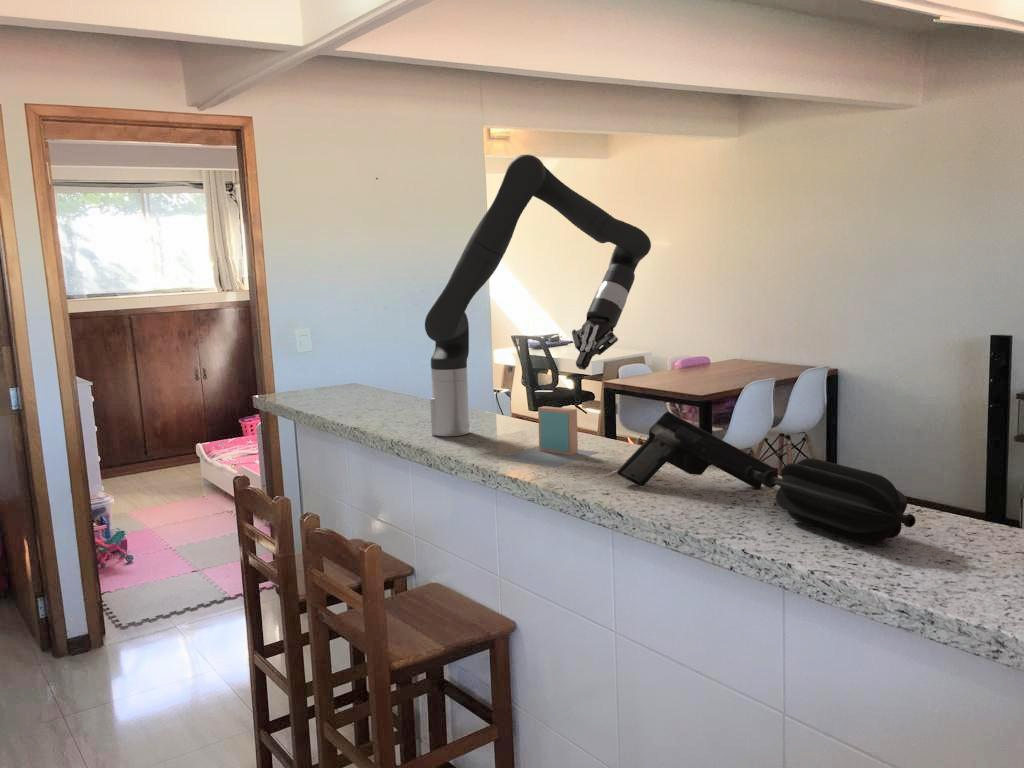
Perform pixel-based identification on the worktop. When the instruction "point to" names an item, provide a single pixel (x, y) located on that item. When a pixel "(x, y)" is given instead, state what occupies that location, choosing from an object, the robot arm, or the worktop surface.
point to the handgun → (687, 453)
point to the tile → (558, 430)
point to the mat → (545, 457)
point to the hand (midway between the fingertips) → (580, 367)
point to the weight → (838, 499)
